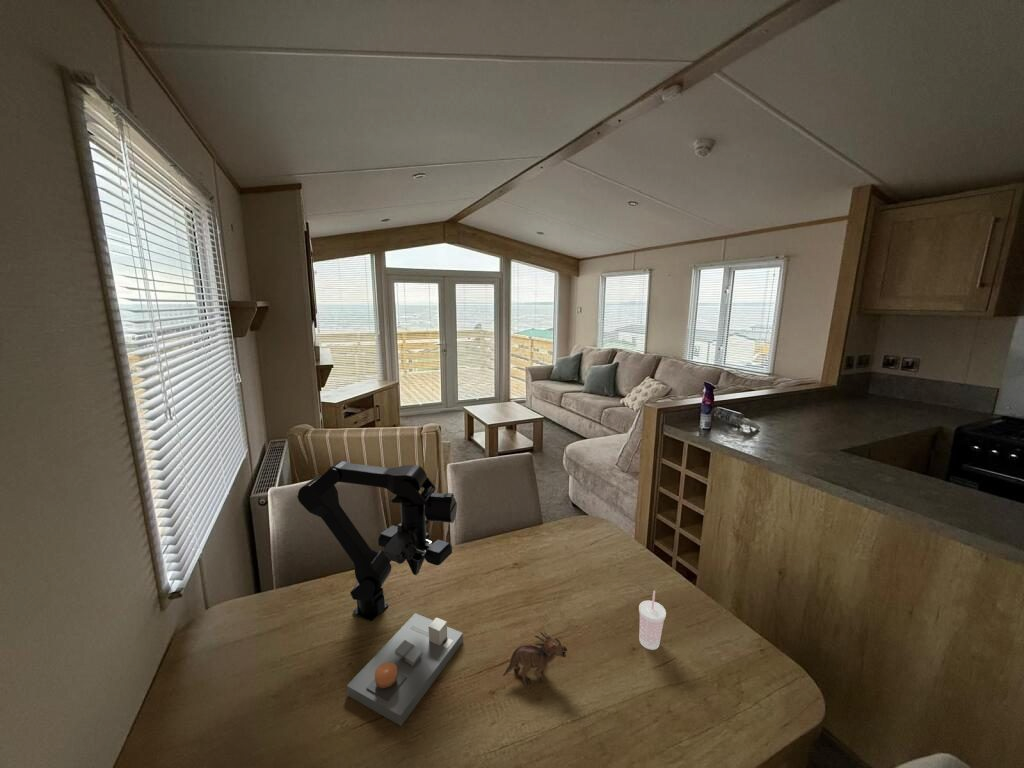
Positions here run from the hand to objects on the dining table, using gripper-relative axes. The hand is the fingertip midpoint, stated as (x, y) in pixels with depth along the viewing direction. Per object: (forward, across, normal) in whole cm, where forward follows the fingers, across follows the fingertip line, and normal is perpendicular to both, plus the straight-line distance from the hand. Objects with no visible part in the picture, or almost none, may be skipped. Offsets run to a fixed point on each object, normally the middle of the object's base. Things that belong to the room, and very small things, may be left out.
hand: (415, 574), depth 105 cm
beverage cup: (+12, +55, +18) cm, 59 cm away
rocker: (+8, +8, -13) cm, 17 cm away
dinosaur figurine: (+12, +33, -2) cm, 35 cm away
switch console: (+12, +8, -13) cm, 19 cm away
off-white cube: (+9, +11, -6) cm, 16 cm away
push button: (+9, +8, -20) cm, 23 cm away
